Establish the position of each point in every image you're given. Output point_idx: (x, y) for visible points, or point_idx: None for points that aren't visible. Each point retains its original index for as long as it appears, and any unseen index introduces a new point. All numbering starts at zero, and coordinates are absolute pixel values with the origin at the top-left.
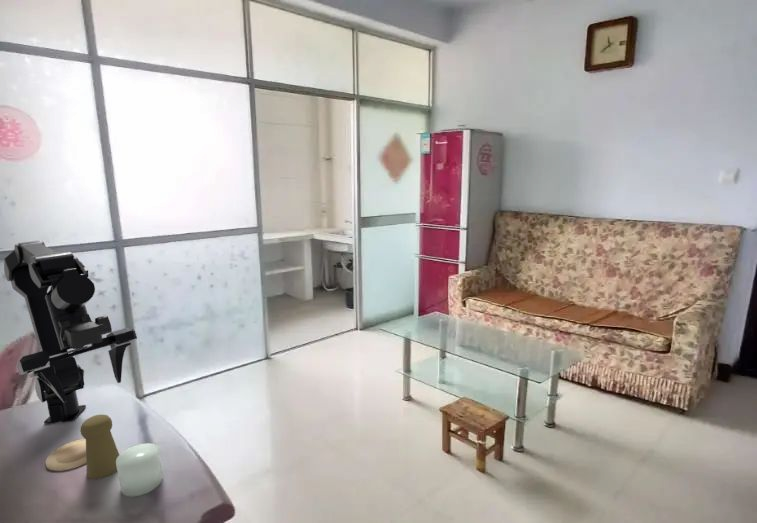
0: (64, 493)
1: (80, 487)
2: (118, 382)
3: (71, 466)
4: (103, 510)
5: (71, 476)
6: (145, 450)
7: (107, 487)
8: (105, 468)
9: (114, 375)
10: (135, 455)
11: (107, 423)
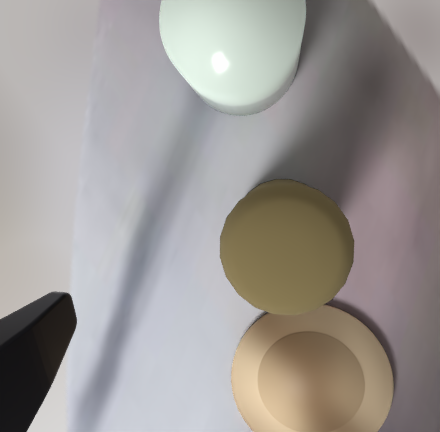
0: (403, 205)
1: (363, 193)
2: (70, 300)
3: (345, 314)
4: (362, 28)
5: (359, 273)
6: (199, 22)
7: (313, 125)
8: (293, 182)
9: (44, 395)
10: (236, 22)
11: (252, 194)
